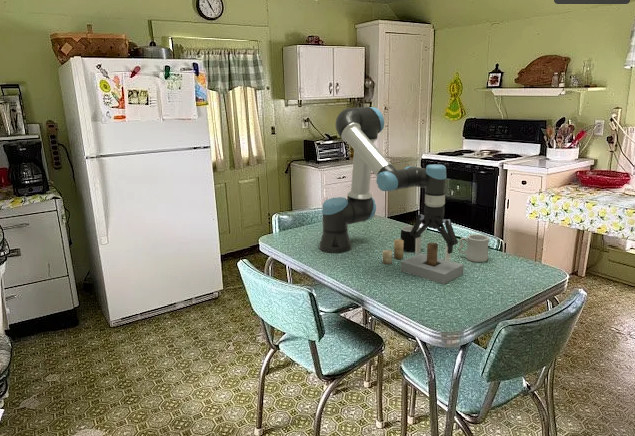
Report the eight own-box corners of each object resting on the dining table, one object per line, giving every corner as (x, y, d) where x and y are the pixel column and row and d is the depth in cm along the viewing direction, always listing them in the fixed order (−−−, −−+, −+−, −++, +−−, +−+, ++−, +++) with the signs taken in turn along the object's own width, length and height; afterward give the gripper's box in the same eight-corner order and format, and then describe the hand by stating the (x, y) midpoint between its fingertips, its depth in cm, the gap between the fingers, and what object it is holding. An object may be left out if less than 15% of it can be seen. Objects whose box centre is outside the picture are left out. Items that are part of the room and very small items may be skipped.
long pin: (424, 272, 185) (425, 244, 182) (429, 270, 187) (431, 242, 184) (432, 275, 182) (434, 246, 179) (438, 272, 184) (439, 244, 181)
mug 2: (488, 257, 200) (490, 235, 198) (486, 263, 193) (488, 241, 190) (459, 253, 206) (460, 232, 203) (456, 260, 198) (457, 238, 195)
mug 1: (424, 251, 210) (425, 229, 207) (408, 254, 206) (408, 232, 204) (408, 243, 220) (409, 223, 218) (393, 246, 217) (393, 226, 214)
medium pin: (392, 257, 202) (392, 240, 200) (397, 255, 205) (398, 238, 203) (399, 260, 199) (400, 242, 197) (405, 257, 202) (405, 240, 200)
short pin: (380, 262, 197) (380, 251, 195) (386, 260, 199) (386, 249, 198) (388, 264, 194) (388, 253, 193) (393, 262, 197) (394, 251, 195)
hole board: (400, 270, 187) (401, 261, 186) (420, 262, 196) (420, 253, 195) (444, 284, 173) (444, 274, 172) (463, 274, 182) (463, 264, 181)
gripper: (402, 201, 184) (401, 251, 189) (458, 211, 166) (455, 266, 172) (413, 198, 189) (411, 247, 194) (469, 208, 171) (465, 261, 177)
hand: (432, 256), depth 183 cm, fingers open, 13 cm apart
